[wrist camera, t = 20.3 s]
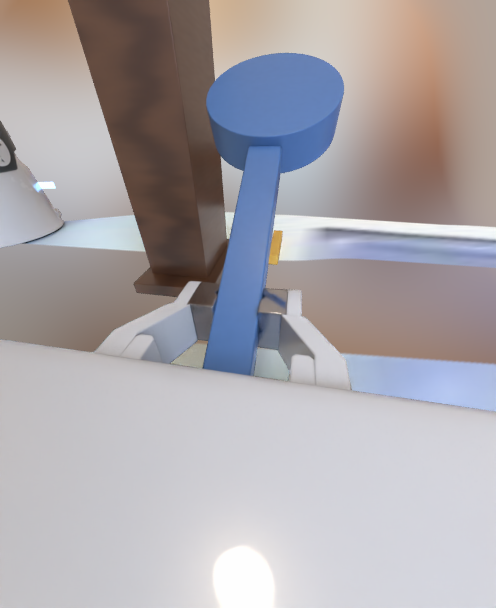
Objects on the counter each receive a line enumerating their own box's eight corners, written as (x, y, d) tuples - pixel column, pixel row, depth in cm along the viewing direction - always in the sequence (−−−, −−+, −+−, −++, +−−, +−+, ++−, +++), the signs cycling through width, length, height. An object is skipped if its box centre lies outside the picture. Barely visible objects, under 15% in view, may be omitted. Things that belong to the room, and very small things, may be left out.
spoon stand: (136, 293, 23) (-118, -371, 7) (183, 244, 33) (115, -98, 17) (212, 300, 22) (106, -471, 6) (238, 247, 32) (223, -117, 15)
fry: (267, 264, 28) (268, 255, 27) (273, 238, 34) (274, 230, 33) (277, 265, 28) (278, 255, 27) (281, 238, 34) (282, 230, 33)
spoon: (133, 418, 9) (95, 424, 7) (226, 97, 15) (219, 56, 14) (327, 454, 8) (344, 474, 6) (335, 92, 14) (344, 48, 13)
